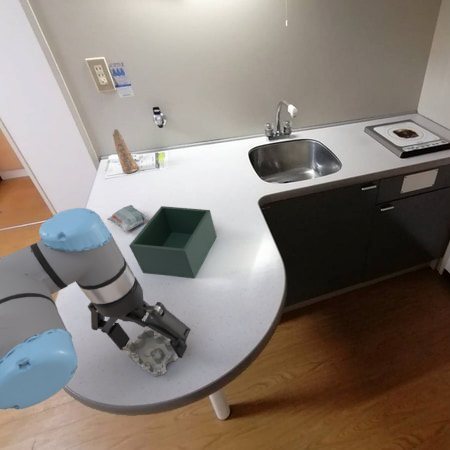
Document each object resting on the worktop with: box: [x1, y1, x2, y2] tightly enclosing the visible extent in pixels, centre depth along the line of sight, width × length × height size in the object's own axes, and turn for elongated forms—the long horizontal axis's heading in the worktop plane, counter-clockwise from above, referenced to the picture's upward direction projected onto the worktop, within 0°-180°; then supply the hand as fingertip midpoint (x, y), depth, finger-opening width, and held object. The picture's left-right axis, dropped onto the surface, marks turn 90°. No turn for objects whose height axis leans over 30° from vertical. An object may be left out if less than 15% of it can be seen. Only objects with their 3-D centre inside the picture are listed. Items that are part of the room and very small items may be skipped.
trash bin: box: [128, 205, 217, 279], centre depth 89 cm, size 16×18×11 cm
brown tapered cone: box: [112, 129, 139, 175], centre depth 127 cm, size 6×18×6 cm
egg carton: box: [122, 327, 179, 378], centre depth 67 cm, size 11×8×4 cm
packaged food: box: [106, 204, 149, 233], centre depth 103 cm, size 9×12×5 cm
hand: (153, 348), depth 67 cm, fingers open, 13 cm apart
